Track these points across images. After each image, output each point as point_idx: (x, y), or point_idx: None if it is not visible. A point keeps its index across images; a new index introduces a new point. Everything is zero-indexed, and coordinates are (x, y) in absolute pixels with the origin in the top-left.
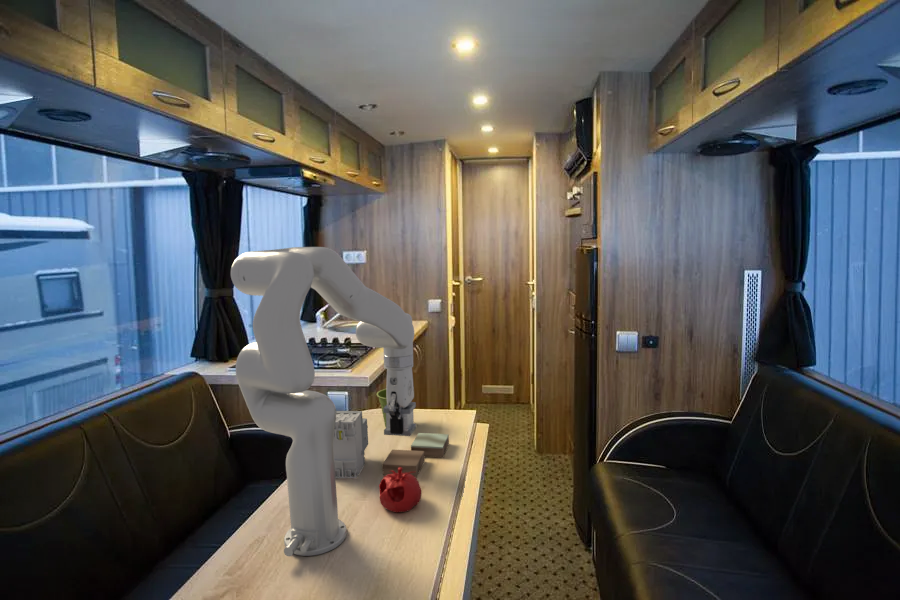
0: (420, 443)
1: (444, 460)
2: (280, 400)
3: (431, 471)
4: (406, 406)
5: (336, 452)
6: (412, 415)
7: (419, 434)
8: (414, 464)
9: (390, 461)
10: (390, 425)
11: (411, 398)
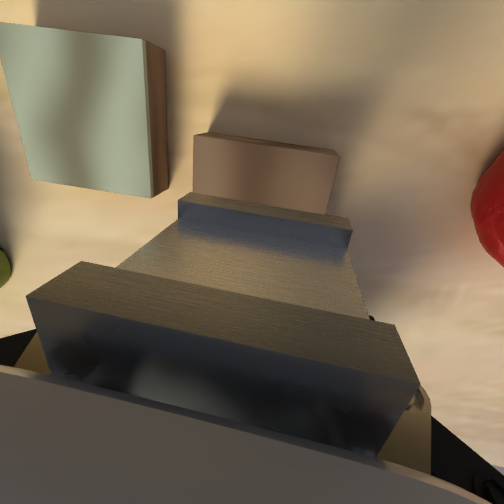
0: (124, 160)
1: (190, 39)
2: None
3: (290, 92)
4: (471, 502)
5: None
6: (173, 254)
7: (43, 174)
8: (324, 165)
9: None
10: None
11: (48, 447)
